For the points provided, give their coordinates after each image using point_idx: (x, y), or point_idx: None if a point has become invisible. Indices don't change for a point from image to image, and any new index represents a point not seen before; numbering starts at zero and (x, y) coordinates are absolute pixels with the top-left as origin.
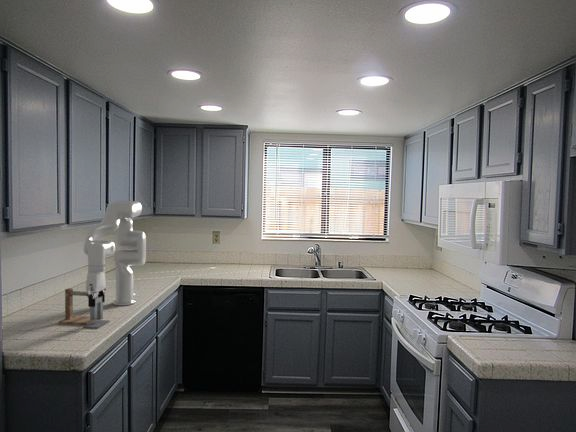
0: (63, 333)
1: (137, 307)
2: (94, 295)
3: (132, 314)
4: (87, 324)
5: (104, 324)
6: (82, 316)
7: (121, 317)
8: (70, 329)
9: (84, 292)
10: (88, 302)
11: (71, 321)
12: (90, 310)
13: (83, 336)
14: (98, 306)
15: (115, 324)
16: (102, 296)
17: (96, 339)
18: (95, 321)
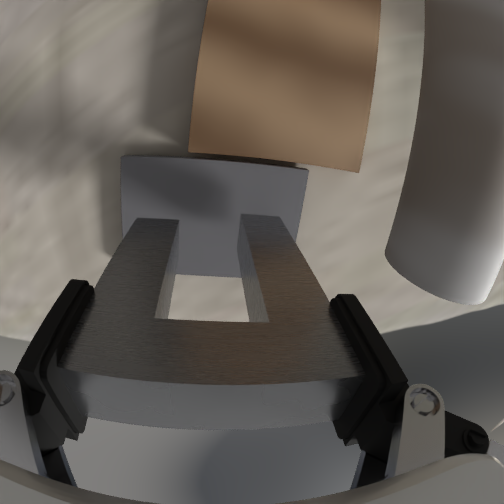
0: (23, 99)
1: (497, 287)
2: (53, 475)
3: (414, 319)
4: (176, 165)
5: (212, 272)
6: (370, 52)
7: (376, 295)
8: (94, 84)
9: (494, 70)
10: (47, 315)
11: (221, 14)
12: (109, 264)
13: (10, 246)
14: (252, 303)
15: (234, 321)
16: (325, 419)
17: (11, 317)
18: (261, 191)
